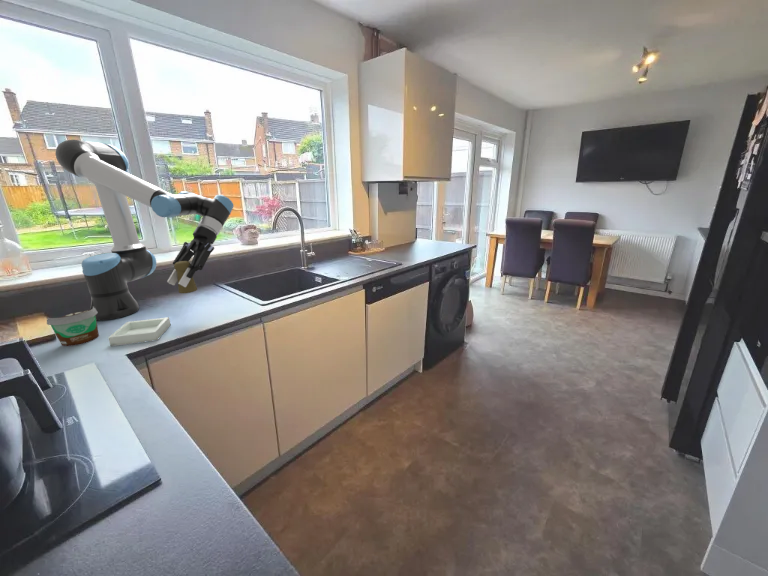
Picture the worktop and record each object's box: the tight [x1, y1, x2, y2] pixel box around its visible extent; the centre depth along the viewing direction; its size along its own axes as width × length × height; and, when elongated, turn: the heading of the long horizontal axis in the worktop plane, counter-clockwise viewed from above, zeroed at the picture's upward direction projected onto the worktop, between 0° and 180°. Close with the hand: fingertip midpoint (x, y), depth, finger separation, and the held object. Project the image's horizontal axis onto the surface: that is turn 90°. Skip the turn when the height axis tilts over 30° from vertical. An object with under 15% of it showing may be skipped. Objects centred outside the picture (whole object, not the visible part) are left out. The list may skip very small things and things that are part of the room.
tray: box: [107, 317, 172, 347], centre depth 109 cm, size 13×13×3 cm
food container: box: [46, 307, 100, 347], centre depth 104 cm, size 12×6×10 cm, turn 148°
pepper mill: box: [173, 261, 198, 294], centre depth 117 cm, size 6×6×11 cm
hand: (176, 284), depth 114 cm, fingers closed on pepper mill, 5 cm apart
